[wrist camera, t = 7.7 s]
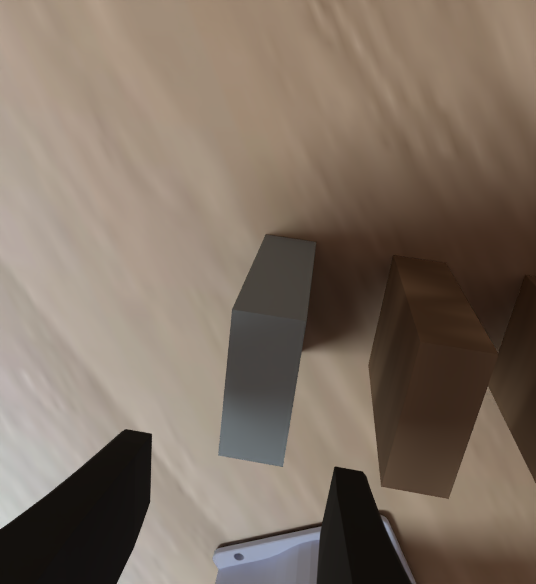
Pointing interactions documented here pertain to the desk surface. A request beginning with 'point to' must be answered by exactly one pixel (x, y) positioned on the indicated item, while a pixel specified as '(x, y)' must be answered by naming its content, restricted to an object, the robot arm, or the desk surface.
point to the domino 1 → (266, 351)
